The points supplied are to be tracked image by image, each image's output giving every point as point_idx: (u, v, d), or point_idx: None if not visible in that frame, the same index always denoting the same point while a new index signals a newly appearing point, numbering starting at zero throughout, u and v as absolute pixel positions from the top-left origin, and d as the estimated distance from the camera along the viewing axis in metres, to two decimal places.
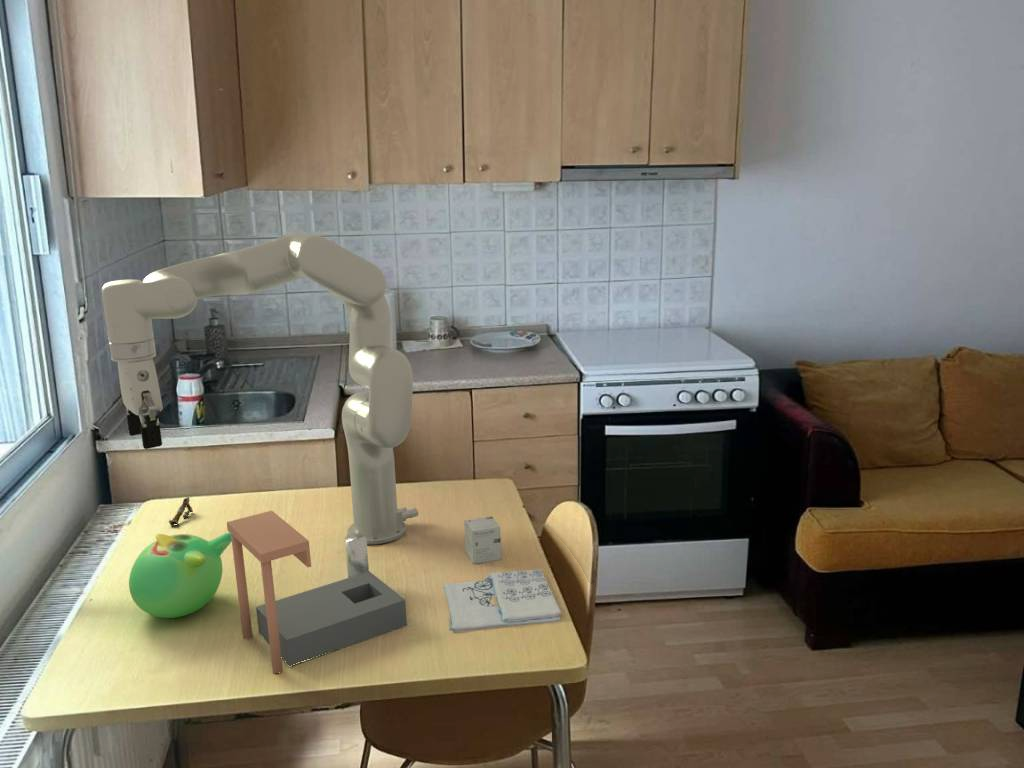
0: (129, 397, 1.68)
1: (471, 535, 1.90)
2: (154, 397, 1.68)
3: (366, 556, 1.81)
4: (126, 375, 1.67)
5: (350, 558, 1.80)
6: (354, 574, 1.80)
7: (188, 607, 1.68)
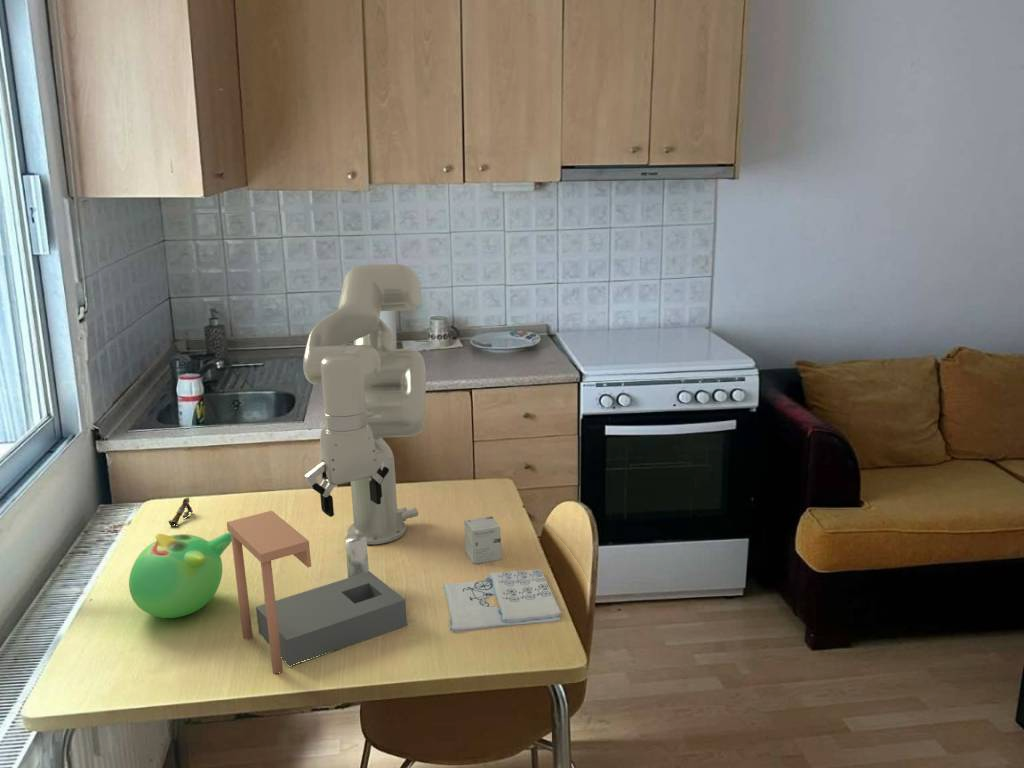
0: (367, 461, 1.76)
1: (471, 535, 1.90)
2: None
3: (366, 556, 1.81)
4: (367, 439, 1.75)
5: (350, 558, 1.80)
6: (354, 574, 1.80)
7: (188, 607, 1.68)
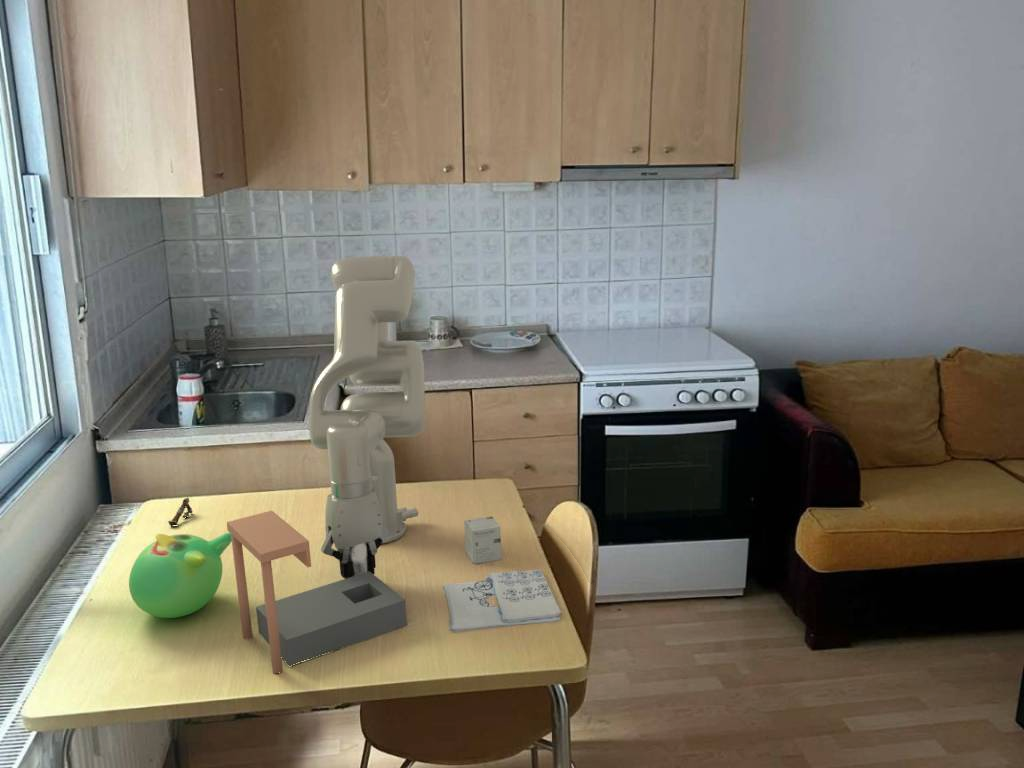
0: (372, 525, 1.79)
1: (471, 535, 1.90)
2: None
3: (366, 556, 1.81)
4: (372, 504, 1.78)
5: (350, 558, 1.80)
6: (354, 574, 1.80)
7: (188, 607, 1.68)
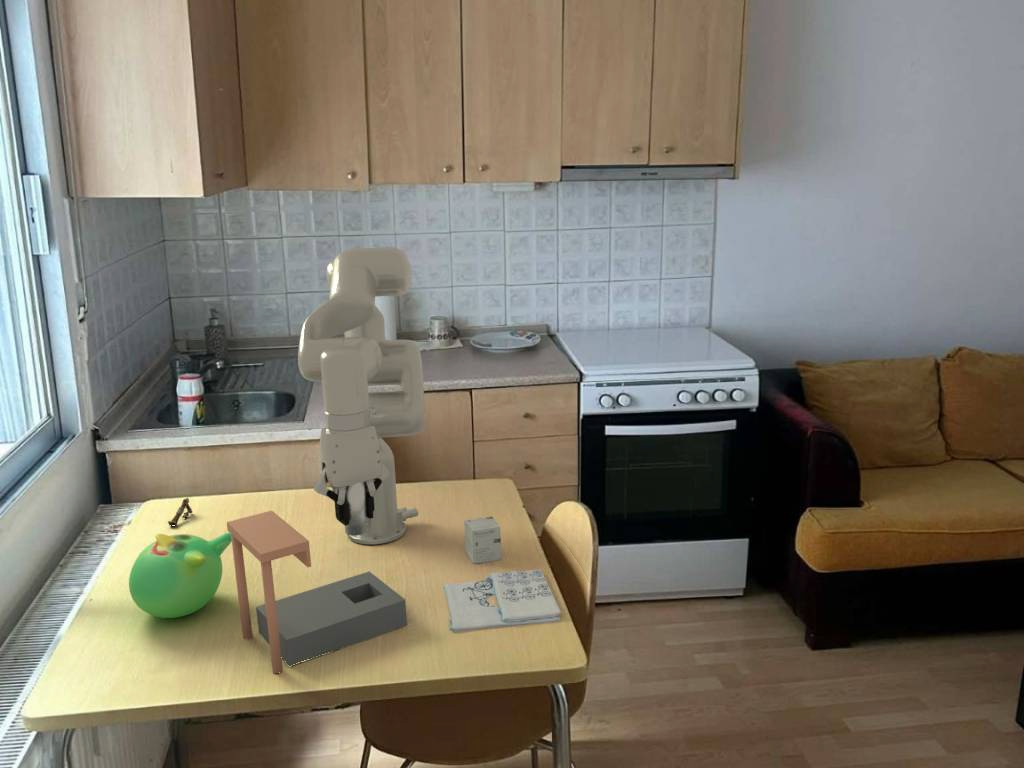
0: (371, 463, 1.63)
1: (471, 535, 1.90)
2: None
3: (364, 497, 1.64)
4: (371, 439, 1.62)
5: (346, 499, 1.63)
6: (351, 517, 1.64)
7: (187, 607, 1.68)
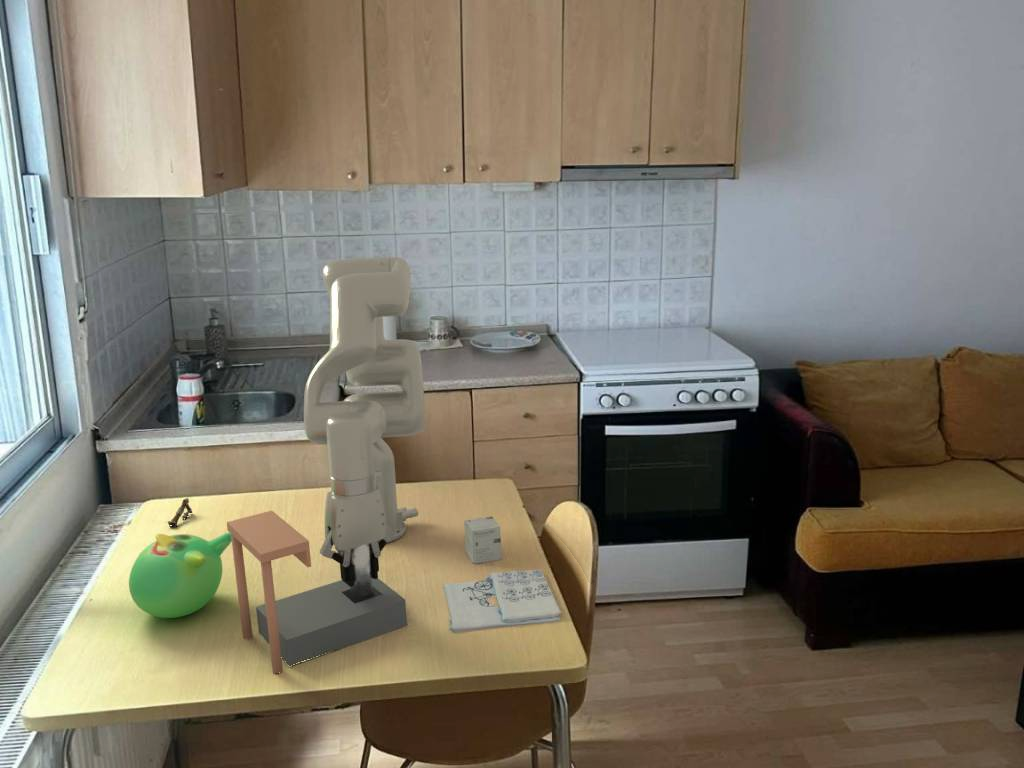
0: (376, 525, 1.66)
1: (471, 535, 1.90)
2: None
3: (369, 559, 1.67)
4: (376, 503, 1.65)
5: (351, 561, 1.66)
6: (356, 578, 1.66)
7: (187, 607, 1.68)
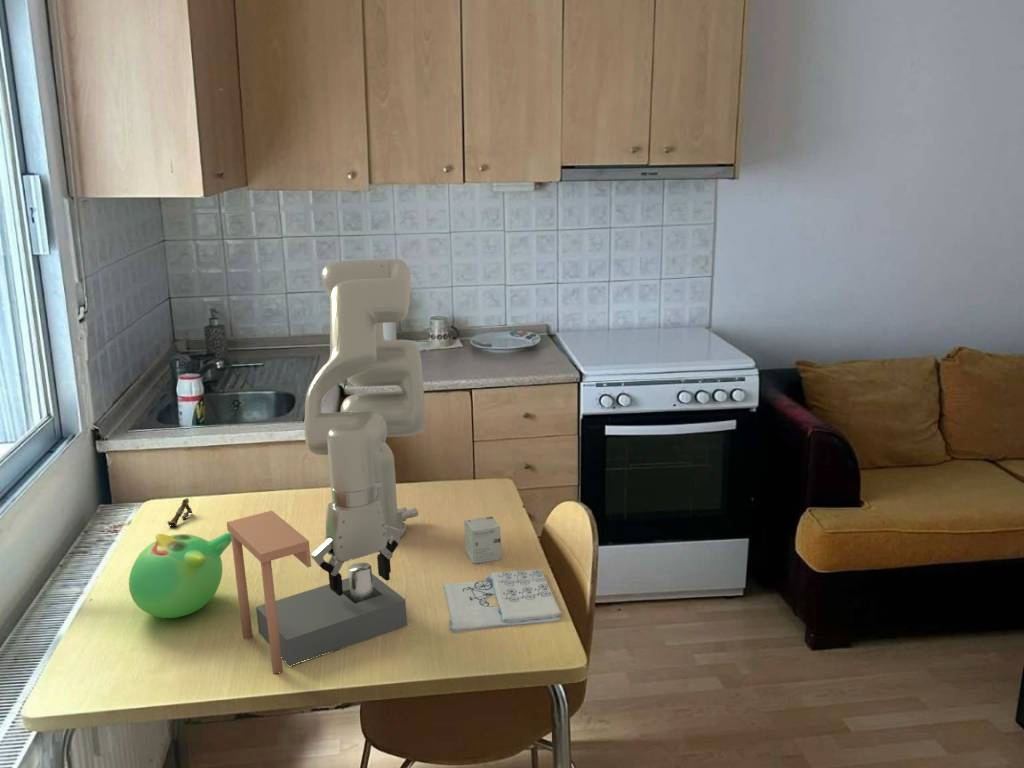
0: (376, 536, 1.66)
1: (471, 535, 1.90)
2: None
3: (371, 587, 1.69)
4: (377, 513, 1.65)
5: (354, 589, 1.67)
6: None
7: (187, 607, 1.68)
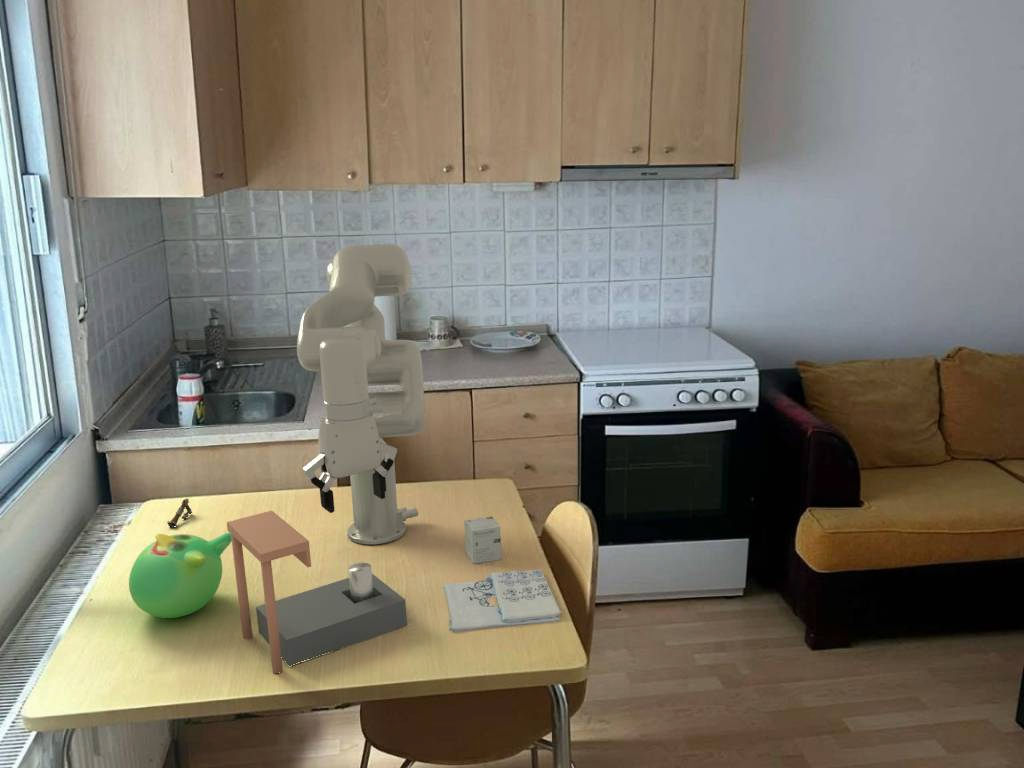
0: (370, 453, 1.62)
1: (471, 535, 1.90)
2: None
3: (371, 587, 1.69)
4: (370, 429, 1.61)
5: (354, 589, 1.67)
6: None
7: (187, 607, 1.68)
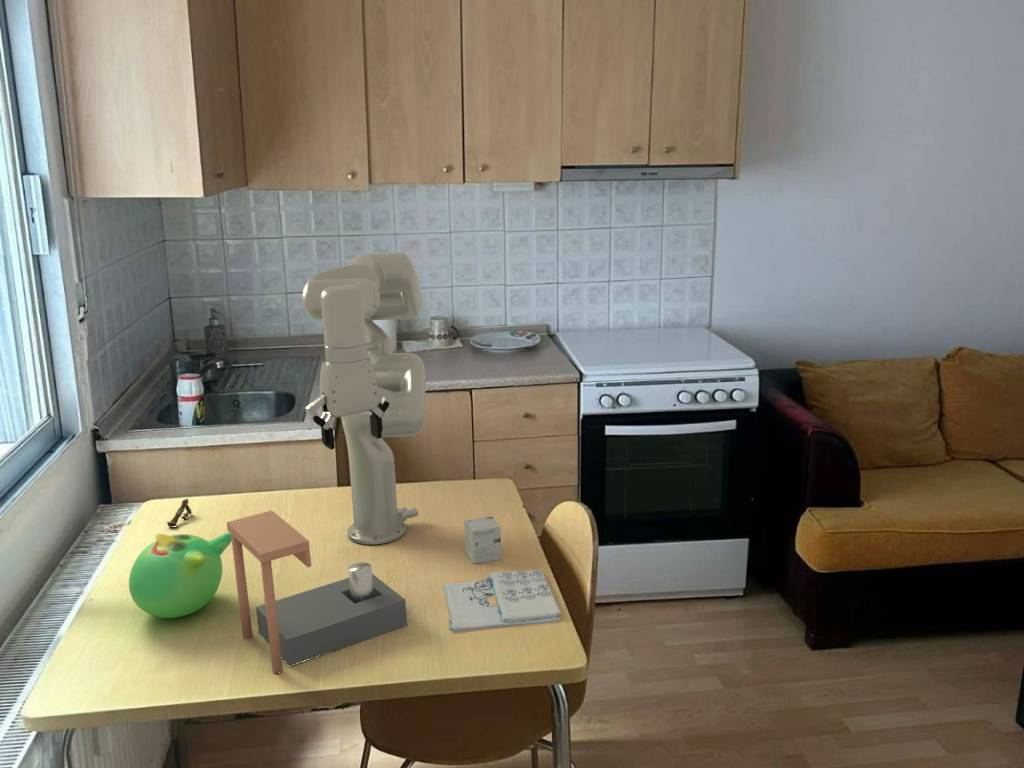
0: (368, 394, 1.75)
1: (471, 535, 1.90)
2: None
3: (371, 587, 1.69)
4: (368, 372, 1.75)
5: (354, 589, 1.67)
6: None
7: (187, 607, 1.68)
